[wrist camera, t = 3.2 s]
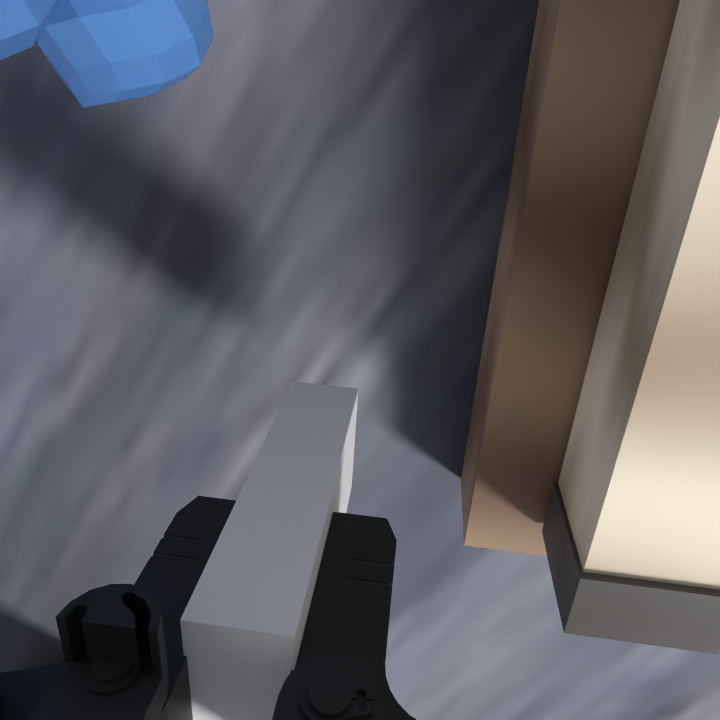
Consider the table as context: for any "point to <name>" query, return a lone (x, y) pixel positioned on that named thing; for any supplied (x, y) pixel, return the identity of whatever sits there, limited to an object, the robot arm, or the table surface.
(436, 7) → the table surface
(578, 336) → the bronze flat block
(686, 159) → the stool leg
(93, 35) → the grapes
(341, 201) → the table surface
